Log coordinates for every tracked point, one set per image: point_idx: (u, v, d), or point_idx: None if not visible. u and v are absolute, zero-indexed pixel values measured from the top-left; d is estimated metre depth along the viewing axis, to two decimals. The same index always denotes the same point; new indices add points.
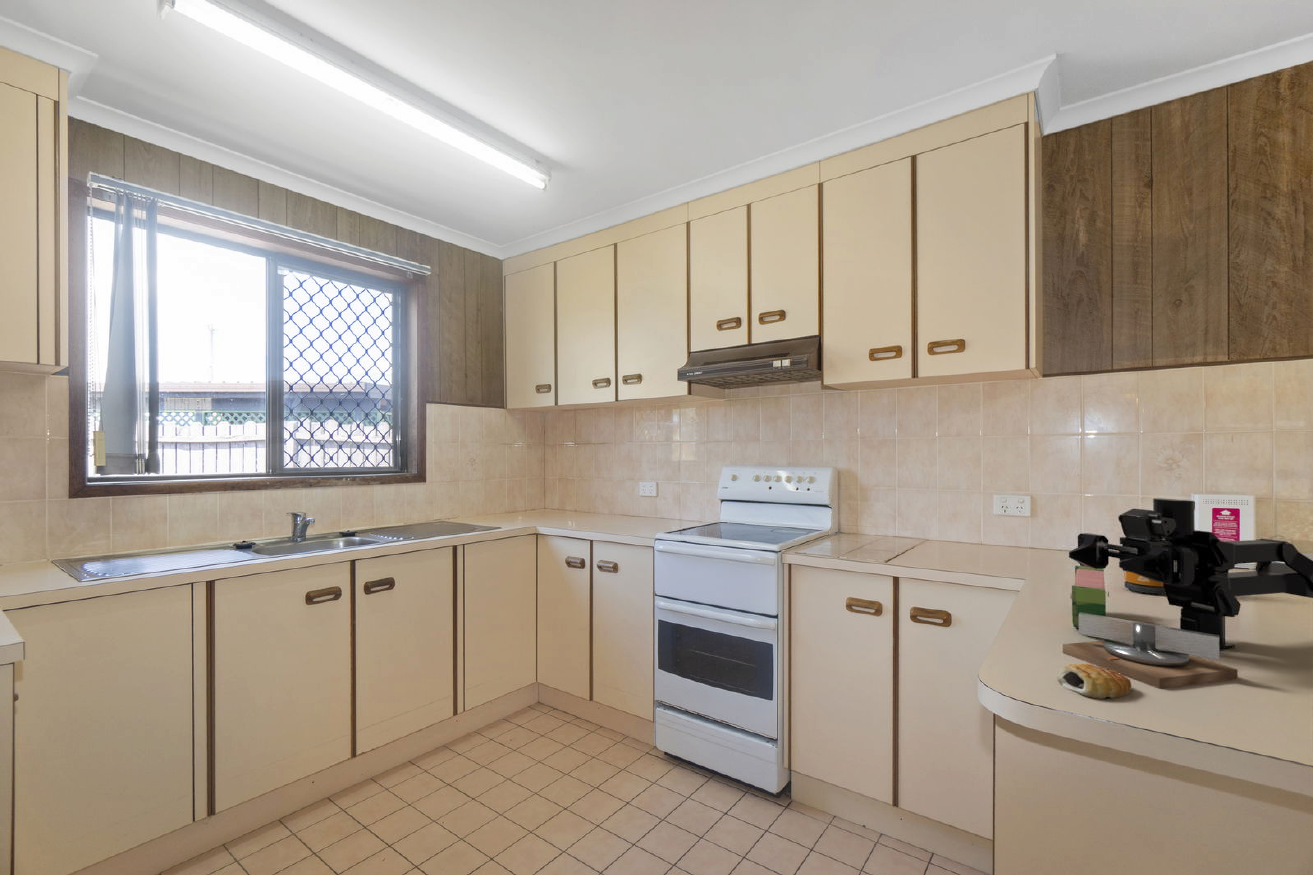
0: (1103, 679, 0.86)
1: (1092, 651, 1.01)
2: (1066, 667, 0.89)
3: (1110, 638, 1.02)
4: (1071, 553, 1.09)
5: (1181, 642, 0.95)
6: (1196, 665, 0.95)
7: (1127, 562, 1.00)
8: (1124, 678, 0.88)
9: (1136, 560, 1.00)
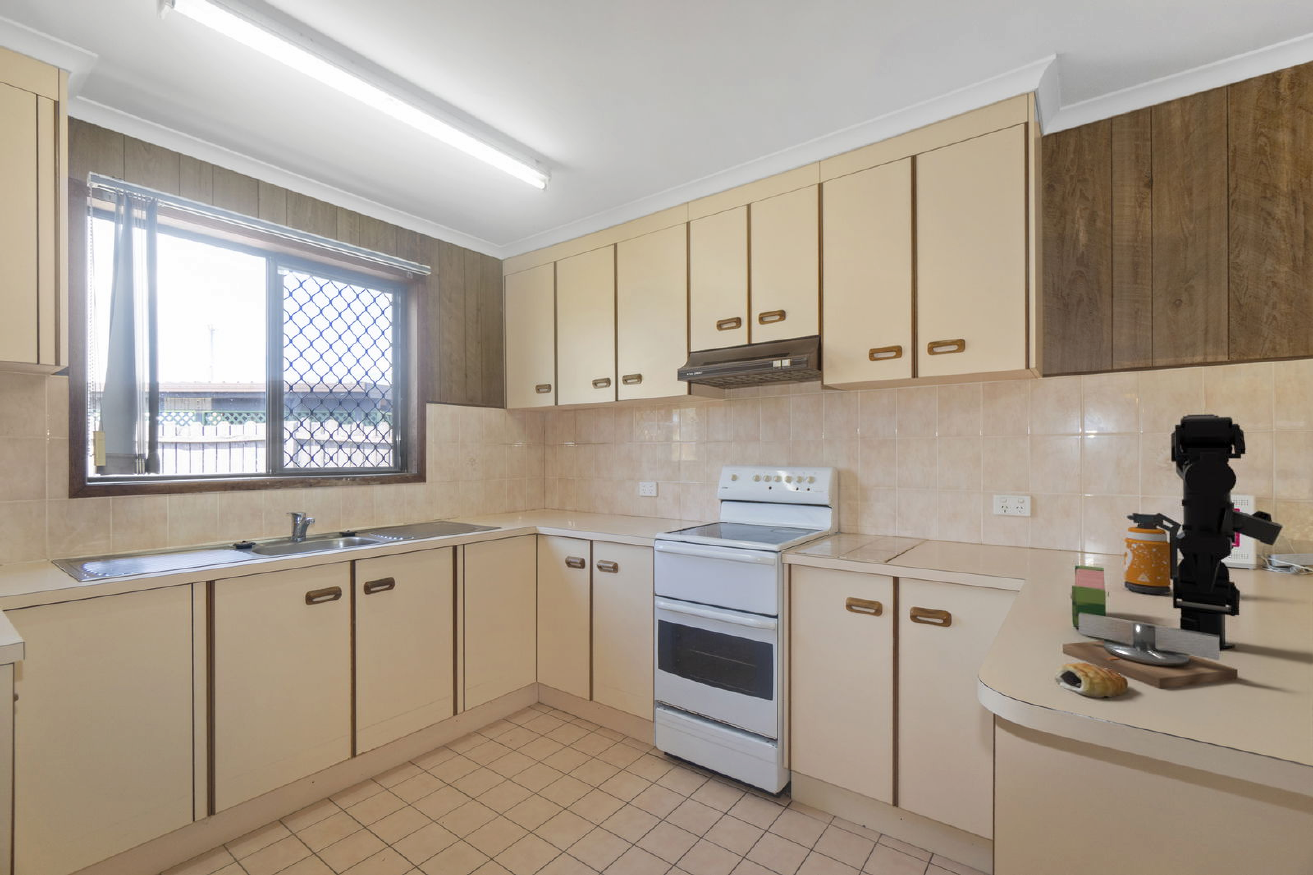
0: (1101, 678, 0.86)
1: (1092, 651, 1.01)
2: (1063, 666, 0.90)
3: (1110, 638, 1.02)
4: None
5: (1181, 642, 0.95)
6: (1196, 665, 0.95)
7: None
8: (1121, 677, 0.88)
9: None
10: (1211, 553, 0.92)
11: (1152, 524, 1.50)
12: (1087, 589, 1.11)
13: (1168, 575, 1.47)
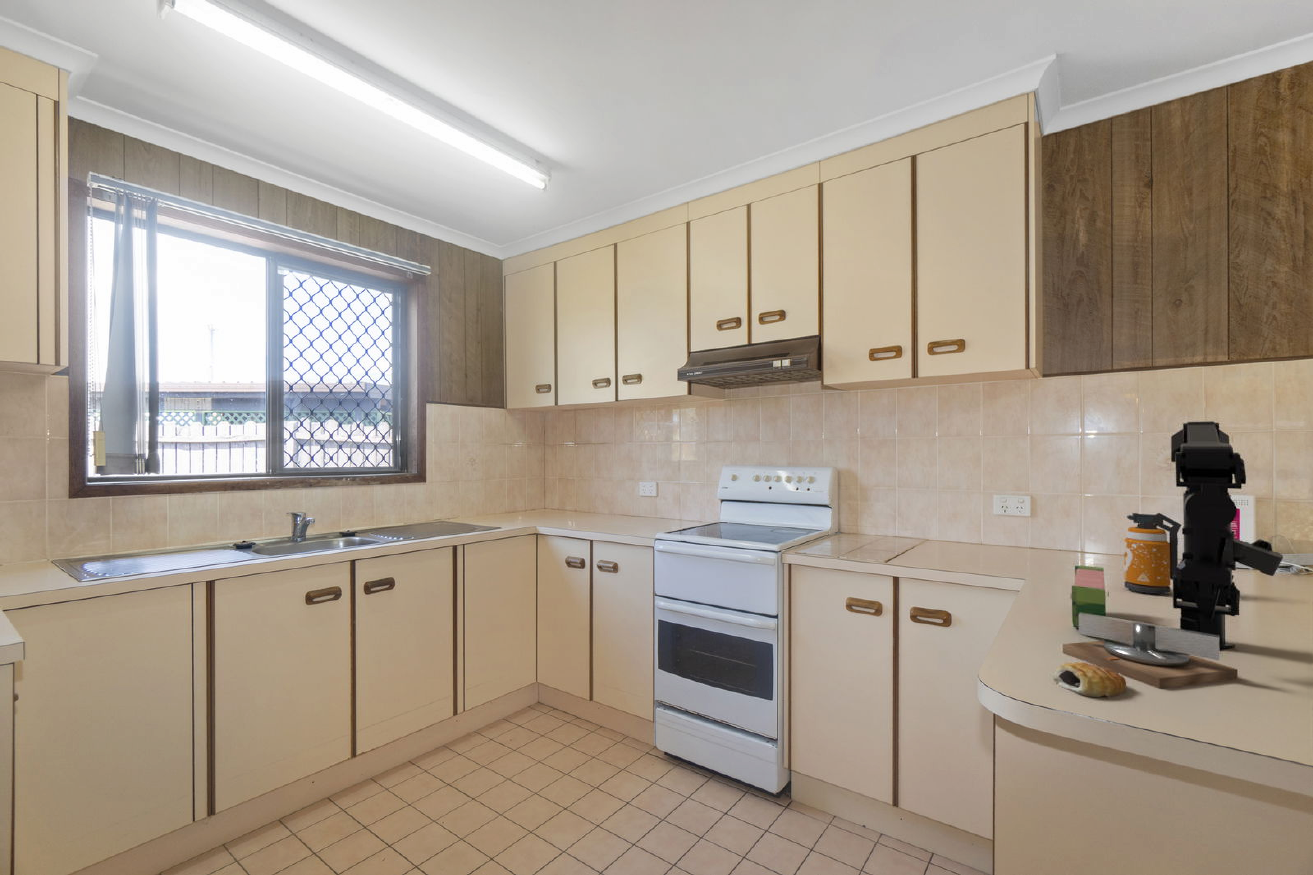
0: (1099, 678, 0.87)
1: (1092, 651, 1.01)
2: (1062, 666, 0.90)
3: (1110, 638, 1.02)
4: None
5: (1181, 642, 0.95)
6: (1196, 665, 0.95)
7: None
8: (1119, 676, 0.88)
9: None
10: None
11: (1152, 524, 1.50)
12: (1087, 589, 1.11)
13: (1168, 575, 1.47)
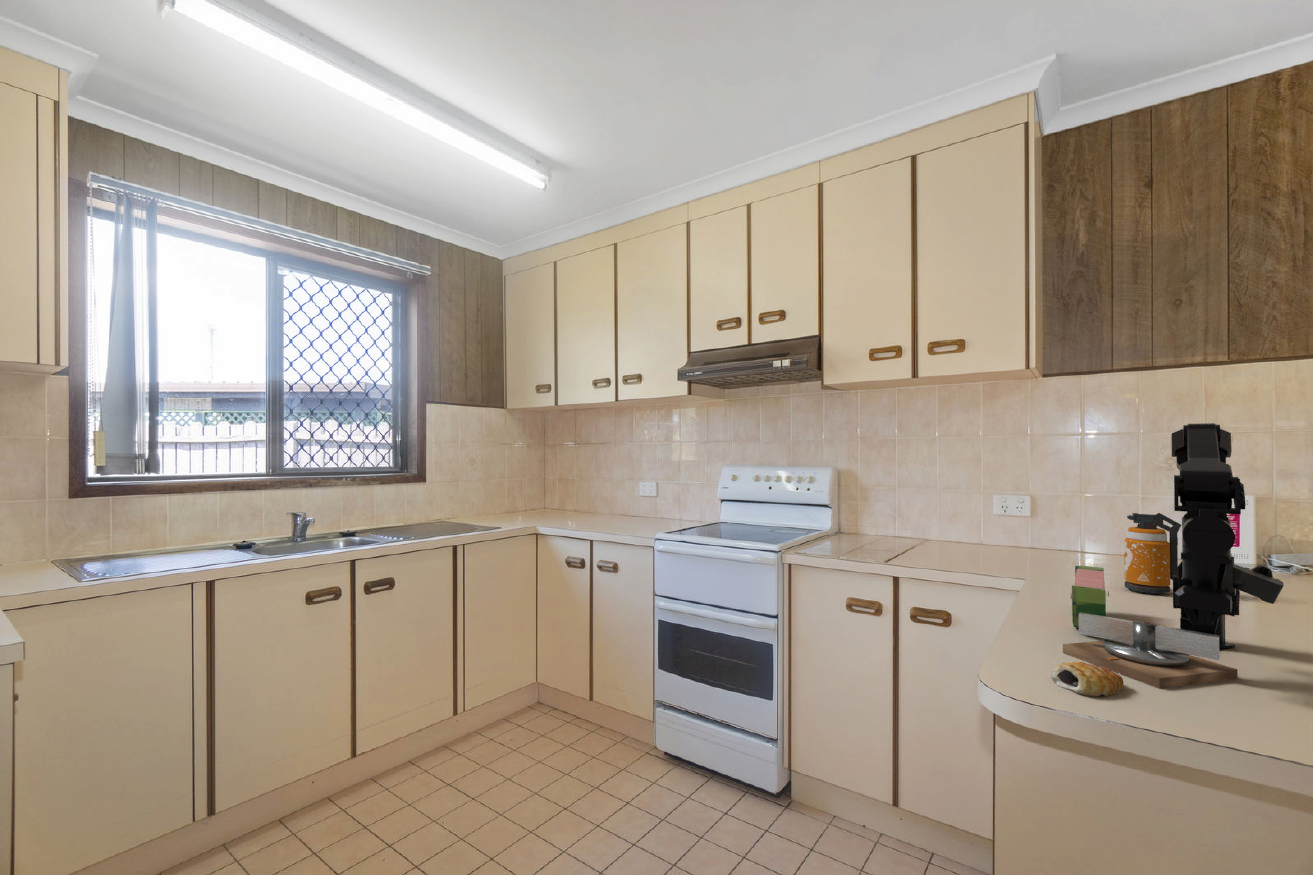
0: (1097, 677, 0.87)
1: (1092, 651, 1.01)
2: (1060, 665, 0.90)
3: (1110, 638, 1.02)
4: None
5: (1181, 642, 0.95)
6: (1196, 665, 0.95)
7: None
8: (1116, 676, 0.89)
9: None
10: None
11: (1152, 524, 1.50)
12: (1087, 589, 1.11)
13: (1168, 575, 1.47)
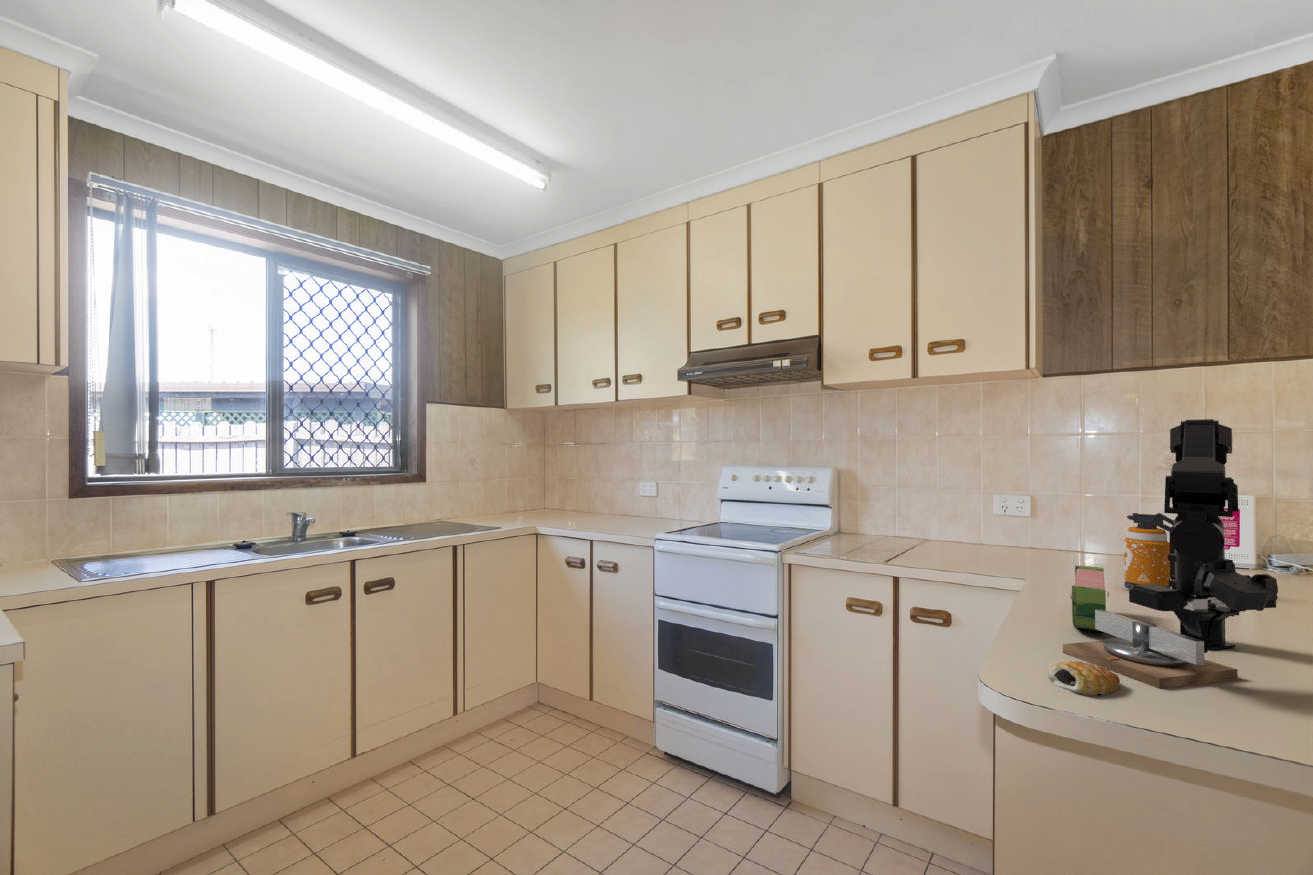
0: (1094, 676, 0.87)
1: (1092, 651, 1.01)
2: (1057, 665, 0.90)
3: (1117, 635, 1.03)
4: None
5: (1168, 643, 0.94)
6: (1196, 665, 0.95)
7: None
8: (1113, 674, 0.89)
9: (1211, 636, 0.91)
10: (1184, 610, 0.91)
11: (1152, 524, 1.50)
12: (1087, 589, 1.11)
13: (1168, 575, 1.47)
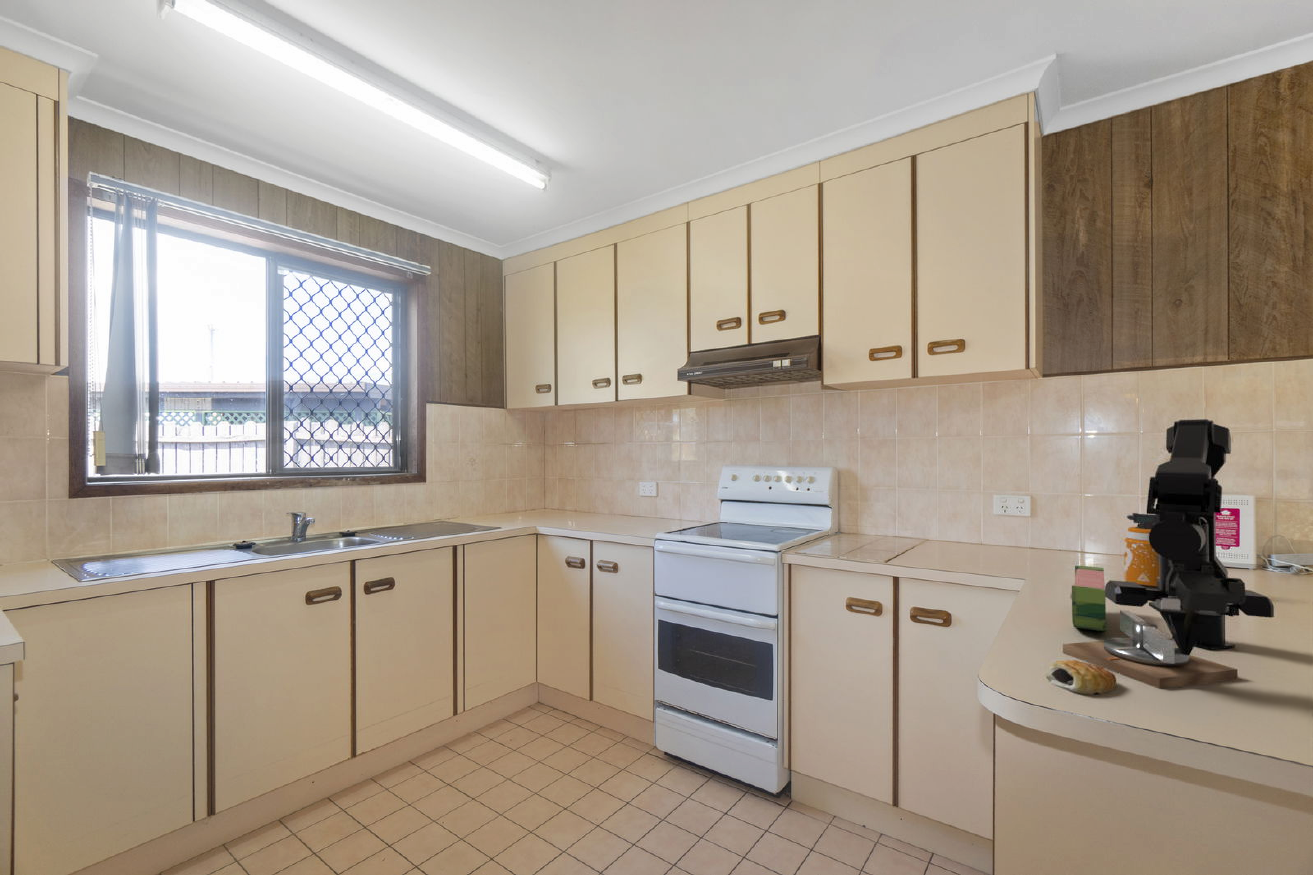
0: (1092, 675, 0.88)
1: (1092, 651, 1.01)
2: (1055, 664, 0.91)
3: (1129, 635, 1.04)
4: None
5: (1151, 642, 0.95)
6: (1196, 665, 0.95)
7: None
8: (1109, 673, 0.90)
9: (1195, 639, 0.90)
10: (1156, 608, 0.92)
11: (1152, 524, 1.50)
12: (1087, 589, 1.11)
13: None
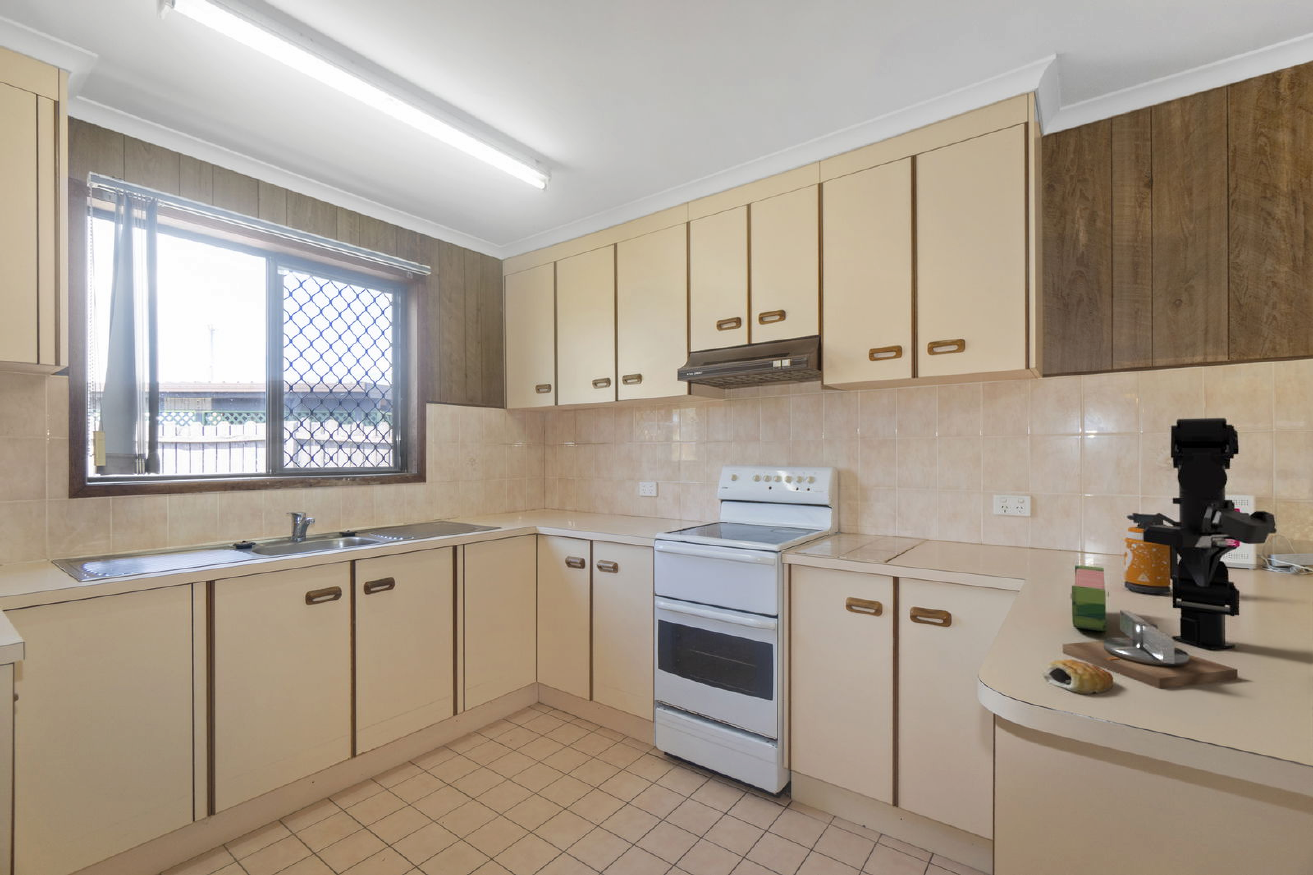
0: (1089, 675, 0.88)
1: (1092, 651, 1.01)
2: (1052, 664, 0.91)
3: (1129, 635, 1.04)
4: None
5: (1151, 642, 0.95)
6: (1196, 665, 0.95)
7: None
8: (1106, 672, 0.90)
9: (1212, 571, 0.99)
10: (1191, 547, 0.98)
11: (1152, 524, 1.50)
12: (1087, 589, 1.11)
13: (1168, 575, 1.47)
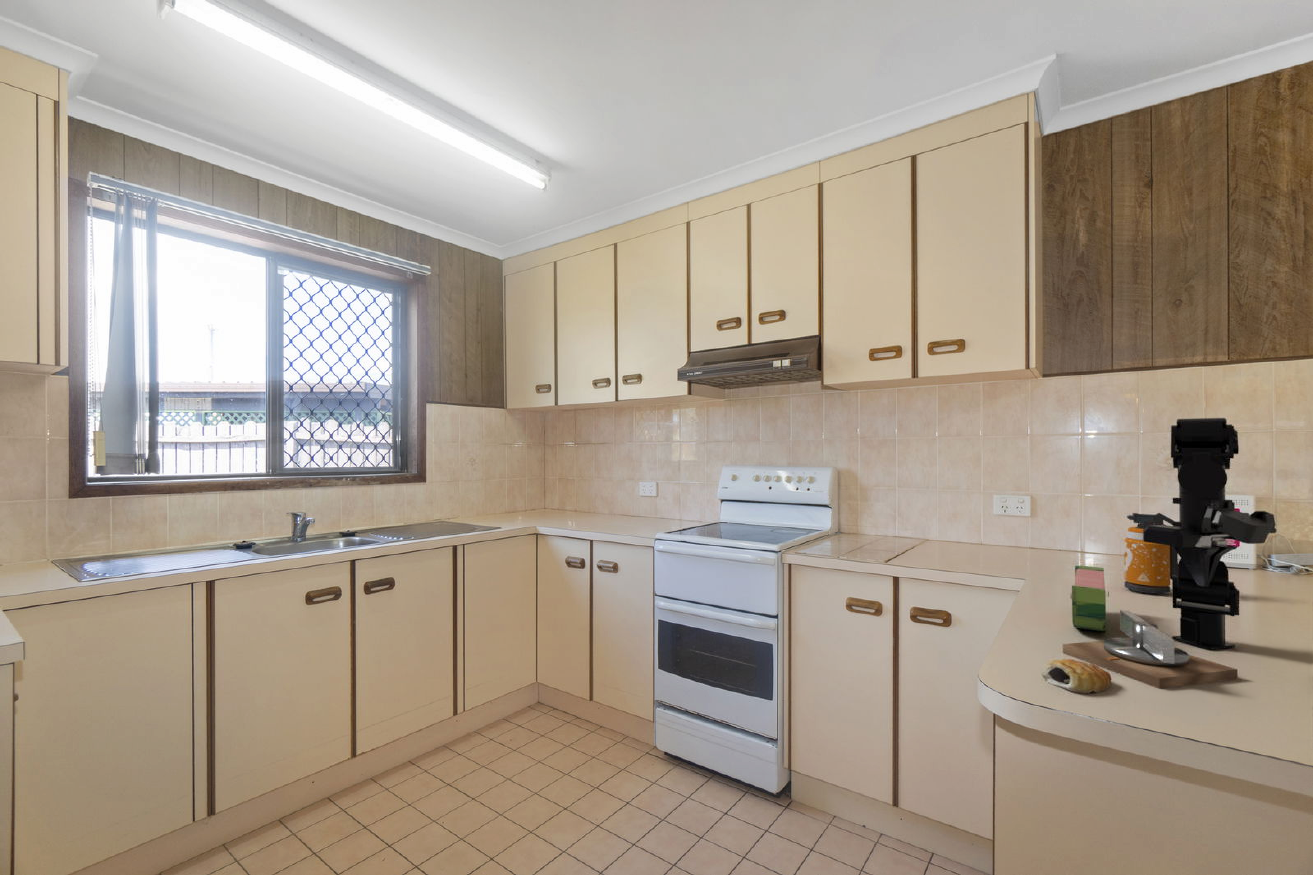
0: (1088, 674, 0.88)
1: (1092, 651, 1.01)
2: (1051, 663, 0.91)
3: (1129, 635, 1.04)
4: None
5: (1151, 642, 0.95)
6: (1196, 665, 0.95)
7: None
8: (1105, 672, 0.90)
9: (1212, 571, 0.99)
10: (1191, 547, 0.98)
11: (1152, 524, 1.50)
12: (1087, 589, 1.11)
13: (1168, 575, 1.47)
